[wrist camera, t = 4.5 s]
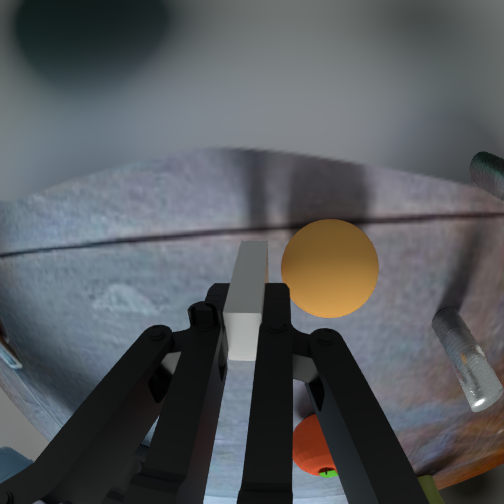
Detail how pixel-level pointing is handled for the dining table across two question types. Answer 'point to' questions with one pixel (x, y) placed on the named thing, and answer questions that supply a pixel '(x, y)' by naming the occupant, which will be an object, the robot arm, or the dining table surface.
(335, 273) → the ball
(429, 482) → the plant pot
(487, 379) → the post
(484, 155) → the post
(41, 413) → the dining table surface
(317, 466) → the clementine
